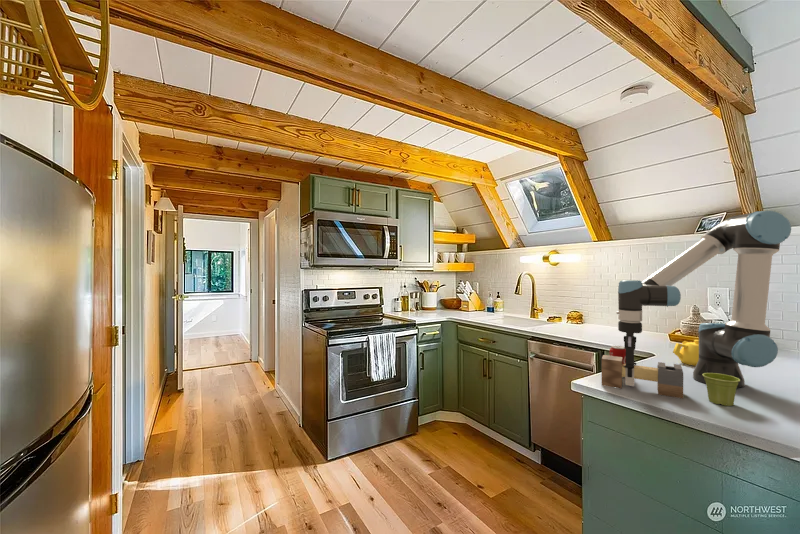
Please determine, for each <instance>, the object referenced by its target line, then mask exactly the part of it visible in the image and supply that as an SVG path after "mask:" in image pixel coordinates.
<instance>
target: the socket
mask: <svg viewBox="0 0 800 534" xmlns="http://www.w3.org/2000/svg"><path fill="white" fill-rule="evenodd" d="M622 362H623V357H617V356H610V355H607V354H603V355H602V357H601V386H602V387H603V386H604V387H609V388H614V387H616V389H620V390H621V389H622V388H623V378H622Z"/></svg>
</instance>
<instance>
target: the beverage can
mask: <svg viewBox="0 0 800 534" xmlns="http://www.w3.org/2000/svg"><path fill="white" fill-rule="evenodd" d="M609 356H617V357H623V362H622V364H626V349H625V348H624V346H621V345H611V346H610V348H609ZM623 378H625V377H622V379H623Z"/></svg>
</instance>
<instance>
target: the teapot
mask: <svg viewBox="0 0 800 534" xmlns="http://www.w3.org/2000/svg"><path fill="white" fill-rule="evenodd" d="M672 354H674V355H675V356H677V357H678V360H679V361H681V363H683V364H685V365H689V366H693V367H696V365H697V362H698V360H699V339H693V342H692V341H686V340H684V341H682V342H681V343H678V342H675V346H674V348H673V351H672Z"/></svg>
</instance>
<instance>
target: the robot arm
mask: <svg viewBox="0 0 800 534" xmlns="http://www.w3.org/2000/svg"><path fill="white" fill-rule="evenodd" d="M791 232H792V225H791V222H790V220H789V219H788V218H787V217H786V216H784V215H783V214H782V213H780V212H778V211H775V210H761V211H760V210H759V211H758V210H757V211H754V212H749V213H744V214H738V215H733V216H729V217H728V218H726V219H725V220H722V221H721V222H719V223H718V224H715V226H714V227H712V228H711V229H709V230H708V231H707V232H705V233H704V234H703V235H701V237H700V240H699V241H697V242H696V243H694V244H693V245H692V246H691V247H688V249H686V250H685V251H684V252H682V253H681V254H679V255H678V256H676V257H675V258H673V259H672V260H671V261H669V262H667V263H666V264H665V265H664V266H662V267H661V268H659V269H658V270H657V271H655V272H654V273H652V274H651V275H650V276H648V277H647V278H645V279H643V280H642V281H641V280H640V279H639V280H638V279H637V280H635V279H634V280H631V279H624V280H623V279H622V280H620V281H619V282H618V287H617V293H618V294H617V295H618V301H617V303H618V307H617V308H618V311H616V315H618V320H619V321H618V322H617V324H618V325H617V326H618V327H617V328H618V331H619V332H621V333H625V335H623V342H624V346H623V347H624V348H625V349H626V365H625V366H623V367H624V368H625V377H624V378H625V383H624V384H625V386H628V387H629V386H630V387H635V378H634V365H637V362H635V350H636V343H637V336H635V335H634V334H641V333H642V332H643V323H642V322H643V307H646V306H650V307H667V308H668V307H676V306H678V305H679V304H680V303H681V298H682V297H681V296H682V295H681V290H680V289H679V288H678V287H677V286H674V285H675V284H676V283H678V282H679V281H681V280H683V278H685V277H686V276H688V275H690V274H691V273H692V272H694V271H695V270H696V269H698V268H699V267H701V266H702V265H704V264H705V263H707V262H708V261H710V260H711V259H712V258H714V257H716V256H717V255H723V254H725V253H726V252H727V251H730V250H731V249H732V250H733V251H735V253H736V254H737V263H736V264H737V265H736V274H735V283H734V290H733V291H734V292H733V299H732V300H733V302H732V309H731V319H730V320H729V321H726V322H725V323H723V322H722V323H718V322H702V323H700V324H699V325H698V331H697V332H698V340H699V360H698V362H697V365H696V366H694V369H693V372H692V378H693V380H696V381H698V382H701V383H702V384H703V383H704V384H706V381H705V379H704V377H703V375H702V374H703V373H718V374H724V375H729V376H733V377H736V378H739V379H740V382H738V385H737V388H738V389H739V388H744V387H745V383H746V382H745V378H744V374H743V373H742V370H741V368H740V366H747V367H750V368H761V367H766V366H767V365H769V364H771V363H772V362H773V361H775V359H776V358H777V356H778V353H779V347H778V345H777V343H776V342H775V340H774V339H772V338H771V337H770V336H771V329H770V328H769V327H768V326H767V325H766V317H767V307H768V298H769V289H770V280H771V271H772V262H773V256H774V255H775V254H776V253H778V252H780V246H781V243H784V242H785V240H786V239H788V238H789V237H790V235H791ZM739 365H740V366H739ZM737 388H736V389H737Z"/></svg>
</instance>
